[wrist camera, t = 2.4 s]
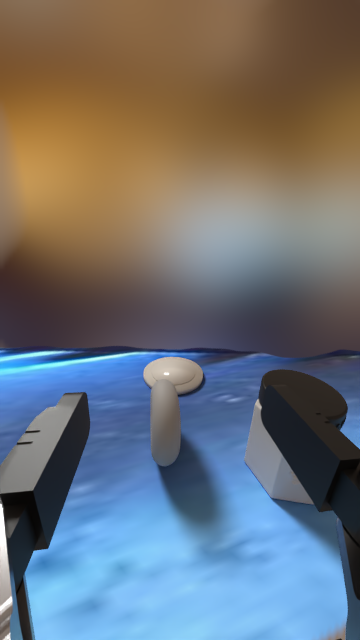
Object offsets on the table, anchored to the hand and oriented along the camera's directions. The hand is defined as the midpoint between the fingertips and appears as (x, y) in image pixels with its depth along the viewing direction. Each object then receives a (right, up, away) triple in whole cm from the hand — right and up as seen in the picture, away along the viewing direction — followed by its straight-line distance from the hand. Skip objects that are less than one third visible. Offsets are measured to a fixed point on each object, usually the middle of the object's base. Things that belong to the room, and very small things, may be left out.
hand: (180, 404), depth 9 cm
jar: (+13, -15, +17) cm, 26 cm away
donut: (-2, -14, +19) cm, 23 cm away
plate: (-1, -8, +35) cm, 36 cm away
